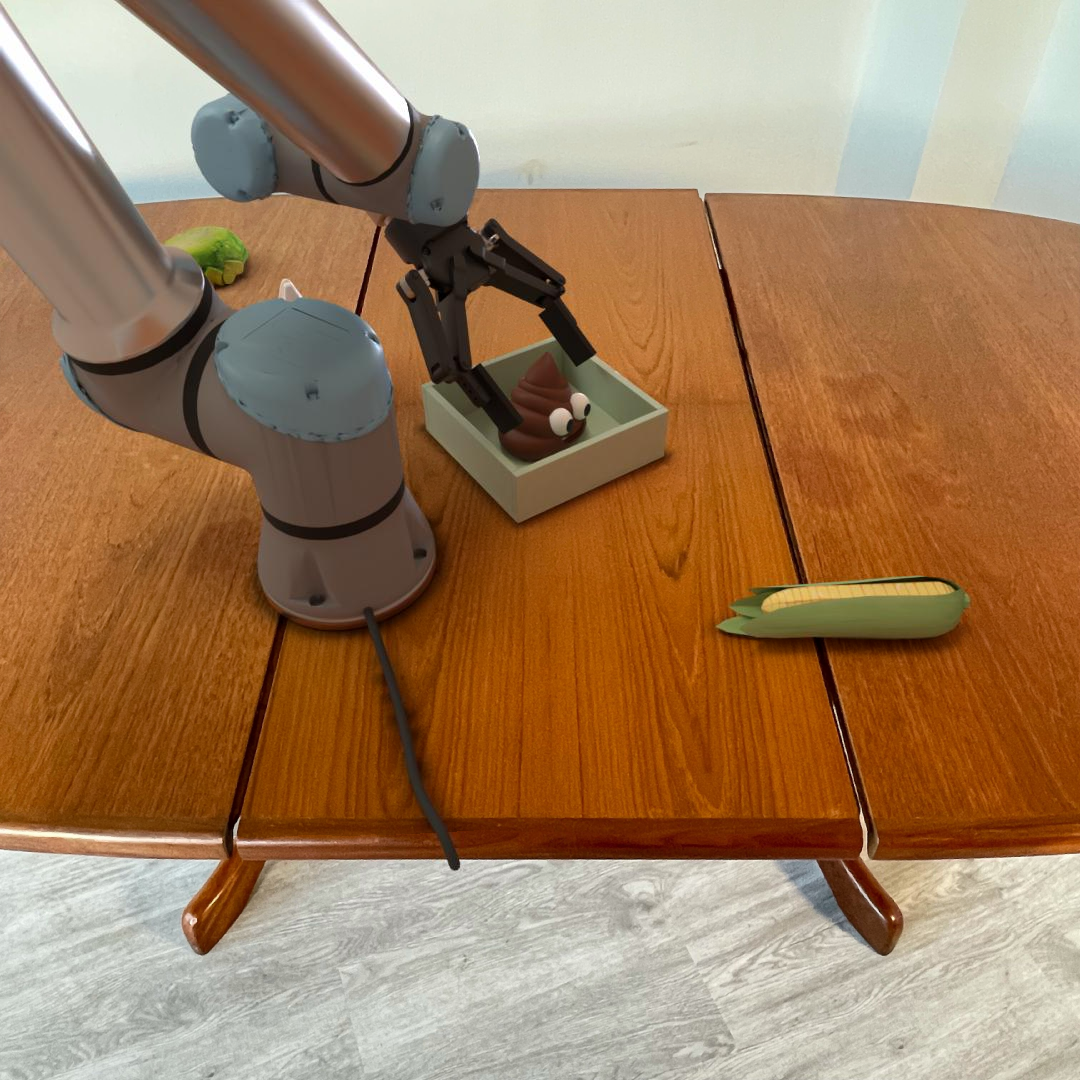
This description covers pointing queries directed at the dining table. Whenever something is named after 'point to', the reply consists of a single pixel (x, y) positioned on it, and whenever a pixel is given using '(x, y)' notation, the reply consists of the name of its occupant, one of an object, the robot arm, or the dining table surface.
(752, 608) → the edible corn
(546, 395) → the poop emoji
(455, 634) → the dining table surface
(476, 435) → the tub
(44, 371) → the dining table surface
